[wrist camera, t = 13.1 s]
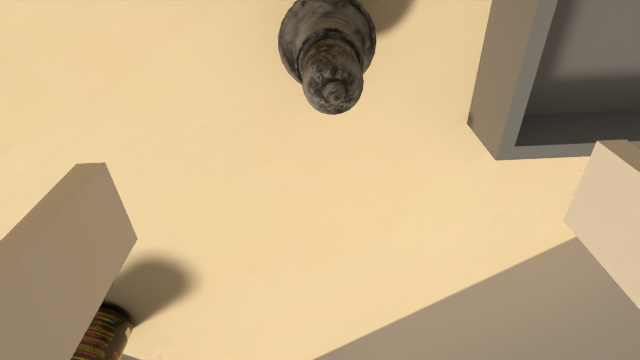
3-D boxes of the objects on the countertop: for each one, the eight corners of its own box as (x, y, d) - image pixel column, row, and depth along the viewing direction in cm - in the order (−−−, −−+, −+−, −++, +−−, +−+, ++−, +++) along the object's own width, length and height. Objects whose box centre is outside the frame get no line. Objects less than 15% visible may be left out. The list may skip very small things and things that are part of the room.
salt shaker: (368, -23, 24) (410, 18, 14) (368, 69, 27) (403, 155, 17) (275, -14, 24) (251, 32, 14) (287, 76, 27) (275, 166, 17)
